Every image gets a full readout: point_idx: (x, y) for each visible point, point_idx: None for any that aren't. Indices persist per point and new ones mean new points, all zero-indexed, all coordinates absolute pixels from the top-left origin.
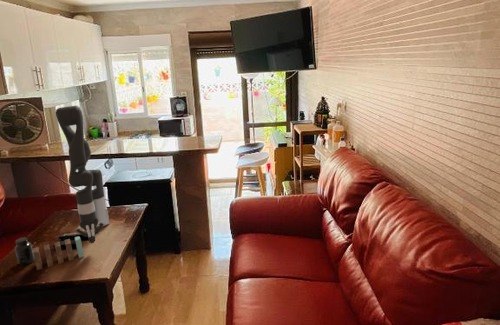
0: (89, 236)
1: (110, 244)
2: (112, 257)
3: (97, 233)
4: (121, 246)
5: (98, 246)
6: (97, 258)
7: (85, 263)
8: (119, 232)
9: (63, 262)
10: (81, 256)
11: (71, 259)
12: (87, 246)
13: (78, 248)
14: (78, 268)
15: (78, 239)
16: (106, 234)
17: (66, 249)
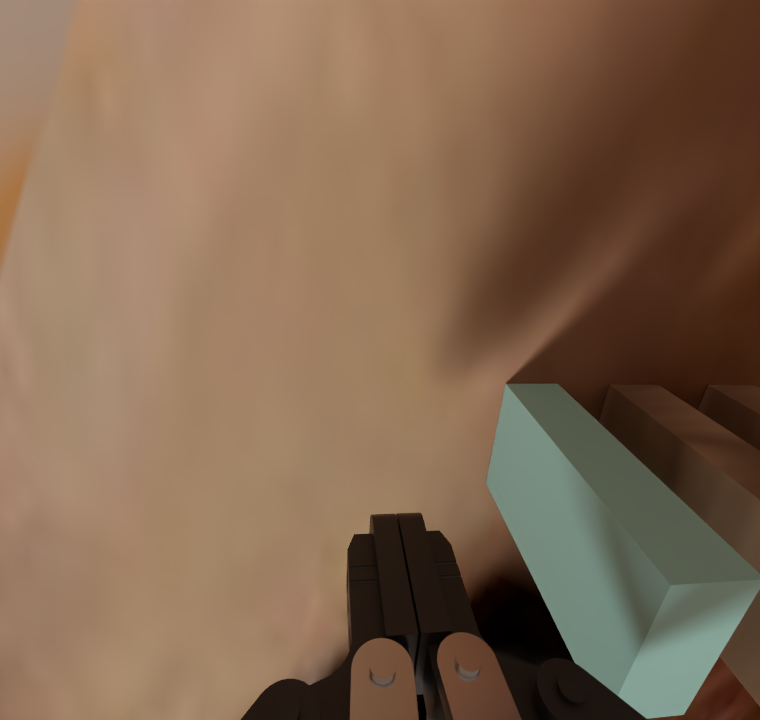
0: (473, 647)
1: (165, 489)
2: (167, 92)
3: (275, 690)
4: (9, 364)
5: (307, 513)
6: (384, 228)
7: (554, 194)
8: (46, 670)
9: (712, 385)
10: (536, 389)
11: (640, 389)
12: None
13: (628, 462)
14: (676, 109)
15: (684, 632)
16: (190, 682)
17: None
